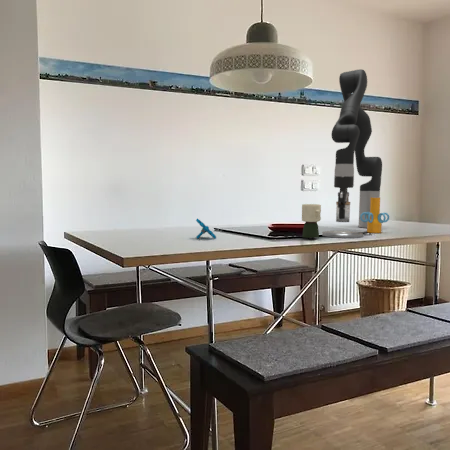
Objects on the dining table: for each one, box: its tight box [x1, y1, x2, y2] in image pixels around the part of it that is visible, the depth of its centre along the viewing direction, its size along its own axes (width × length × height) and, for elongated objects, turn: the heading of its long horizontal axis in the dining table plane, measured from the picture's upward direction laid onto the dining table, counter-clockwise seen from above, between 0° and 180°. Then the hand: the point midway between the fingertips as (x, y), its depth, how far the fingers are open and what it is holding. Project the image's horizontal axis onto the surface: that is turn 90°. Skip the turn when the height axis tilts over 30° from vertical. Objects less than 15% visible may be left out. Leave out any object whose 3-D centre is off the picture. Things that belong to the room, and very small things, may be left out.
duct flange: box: [321, 230, 364, 239], centre depth 198 cm, size 16×16×2 cm
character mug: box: [301, 203, 322, 240], centre depth 187 cm, size 11×7×13 cm, turn 25°
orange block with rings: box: [360, 197, 390, 234], centre depth 212 cm, size 12×10×15 cm
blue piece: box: [195, 218, 217, 240], centre depth 186 cm, size 11×6×10 cm
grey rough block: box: [335, 201, 351, 223], centre depth 197 cm, size 6×6×8 cm
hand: (342, 218), depth 198 cm, fingers closed on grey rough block, 5 cm apart
